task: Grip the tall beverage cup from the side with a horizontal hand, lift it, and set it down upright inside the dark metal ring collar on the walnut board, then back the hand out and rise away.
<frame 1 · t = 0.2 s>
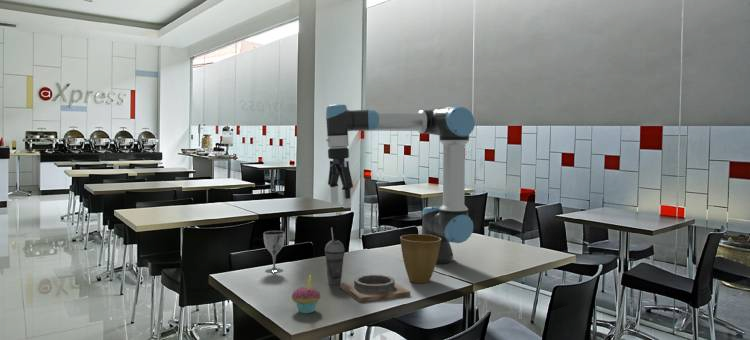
hand: (340, 206, 190), 27 cm above the table, tool pointing down, fingers open, 13 cm apart
beverage cup: (334, 283, 187), on the table
wine glass: (274, 271, 203), on the table
ring holder: (374, 291, 177), on the table
cupcake: (306, 311, 157), on the table
plant pot: (420, 281, 191), on the table
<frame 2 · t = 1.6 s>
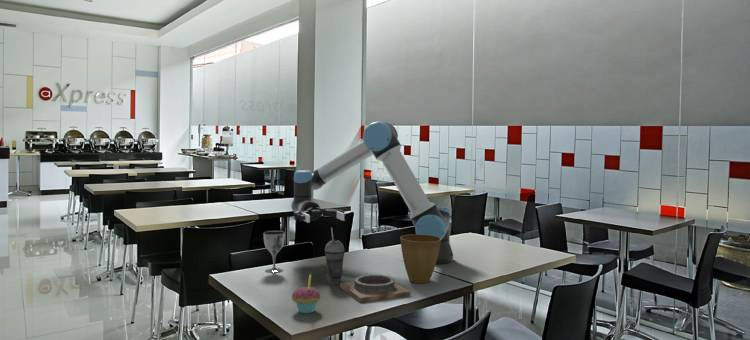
hand: (326, 218, 194), 22 cm above the table, tool horizontal, fingers open, 13 cm apart
nothing on the table moved.
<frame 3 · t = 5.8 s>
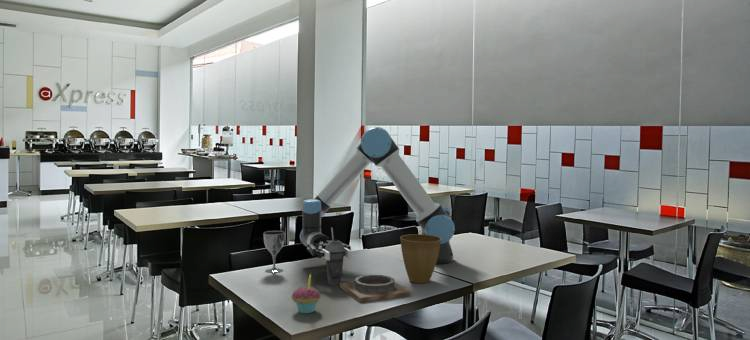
hand: (339, 255, 182), 11 cm above the table, tool horizontal, fingers closed on beverage cup, 7 cm apart
beverage cup: (334, 283, 187), on the table, touching gripper
everything else where it was.
when the fingers open (14 cm above the table, at t = 11.3 s): beverage cup drops 1 cm, resting on ring holder.
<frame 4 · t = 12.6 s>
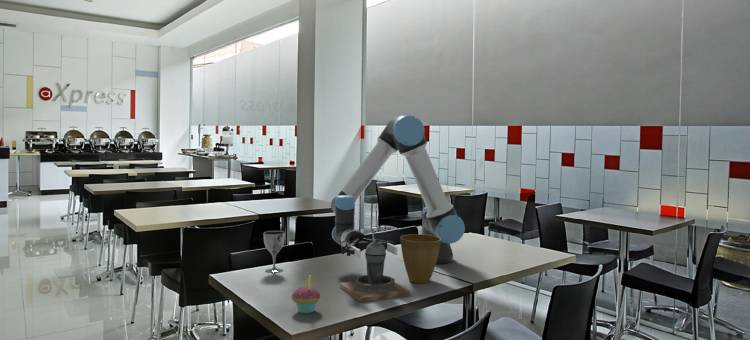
hand: (378, 252, 174), 14 cm above the table, tool horizontal, fingers open, 13 cm apart
beverage cup: (374, 287, 177), point 1 cm above the table, touching ring holder
everything else where it was.
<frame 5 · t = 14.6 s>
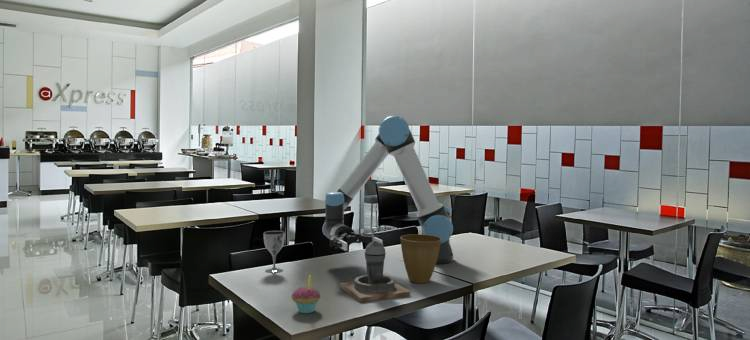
hand: (364, 245, 185), 14 cm above the table, tool horizontal, fingers open, 13 cm apart
nothing on the table moved.
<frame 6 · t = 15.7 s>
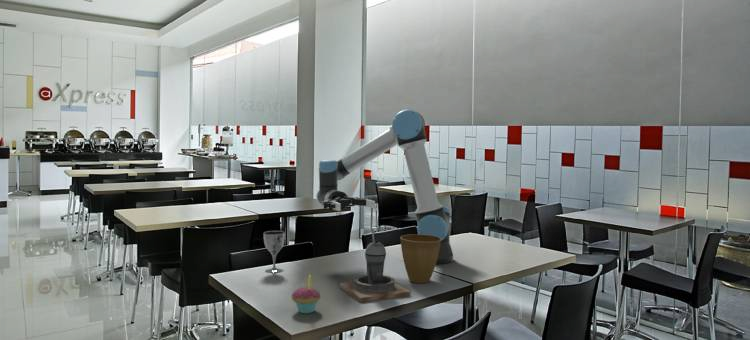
hand: (357, 206, 189), 27 cm above the table, tool horizontal, fingers open, 13 cm apart
nothing on the table moved.
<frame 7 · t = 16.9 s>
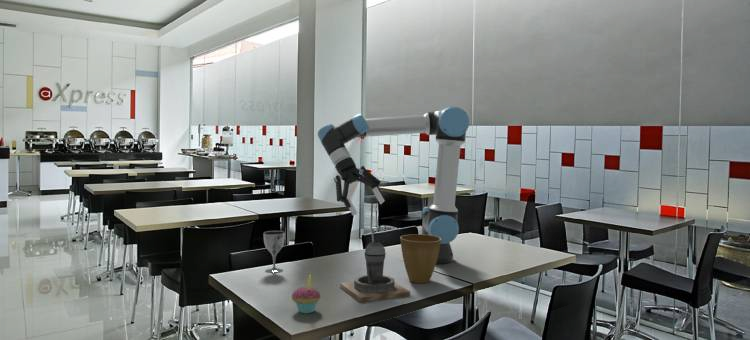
hand: (369, 208, 199), 25 cm above the table, tool tilted 35°, fingers open, 13 cm apart
nothing on the table moved.
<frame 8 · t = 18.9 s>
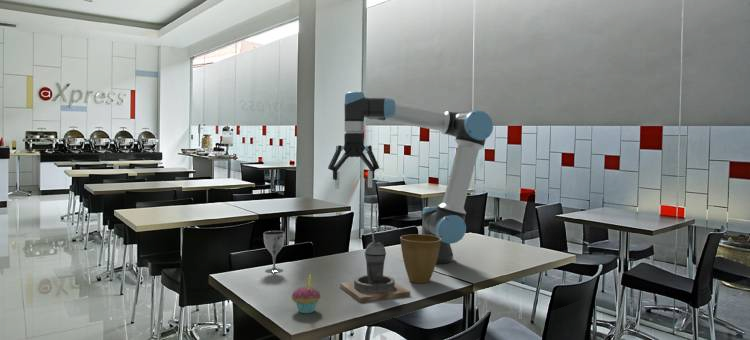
hand: (353, 188, 201), 33 cm above the table, tool pointing down, fingers open, 13 cm apart
nothing on the table moved.
at the end: beverage cup 0.2 cm off-centre on the ring holder, point 1.3 cm above the ring holder's base; beverage cup tilted 0°; the gripper is holding nothing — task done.
